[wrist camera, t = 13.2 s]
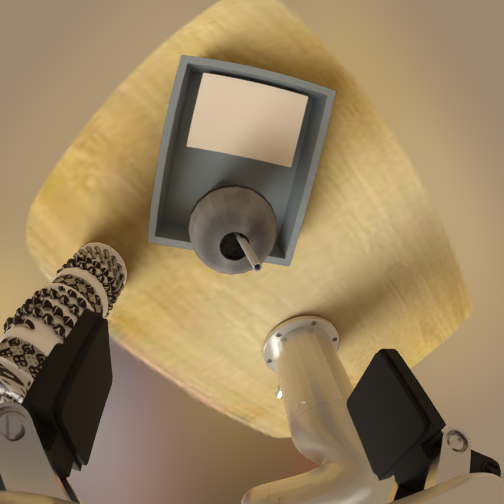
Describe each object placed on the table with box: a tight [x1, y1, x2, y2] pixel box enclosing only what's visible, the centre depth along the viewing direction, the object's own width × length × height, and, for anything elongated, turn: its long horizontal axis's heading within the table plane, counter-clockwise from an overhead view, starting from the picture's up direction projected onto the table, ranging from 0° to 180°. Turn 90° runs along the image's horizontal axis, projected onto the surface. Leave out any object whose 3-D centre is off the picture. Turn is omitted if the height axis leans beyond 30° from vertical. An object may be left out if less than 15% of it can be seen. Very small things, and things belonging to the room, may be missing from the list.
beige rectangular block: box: [187, 73, 308, 168], centre depth 29 cm, size 8×11×4 cm
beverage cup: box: [188, 179, 277, 274], centre depth 25 cm, size 7×7×20 cm
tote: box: [147, 55, 336, 266], centre depth 31 cm, size 20×16×6 cm
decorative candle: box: [0, 242, 127, 405], centre depth 26 cm, size 9×9×25 cm
